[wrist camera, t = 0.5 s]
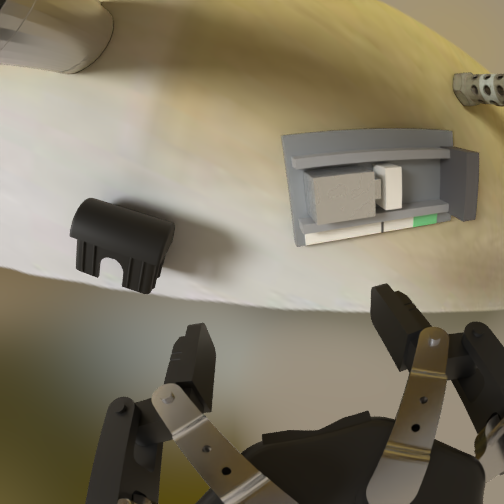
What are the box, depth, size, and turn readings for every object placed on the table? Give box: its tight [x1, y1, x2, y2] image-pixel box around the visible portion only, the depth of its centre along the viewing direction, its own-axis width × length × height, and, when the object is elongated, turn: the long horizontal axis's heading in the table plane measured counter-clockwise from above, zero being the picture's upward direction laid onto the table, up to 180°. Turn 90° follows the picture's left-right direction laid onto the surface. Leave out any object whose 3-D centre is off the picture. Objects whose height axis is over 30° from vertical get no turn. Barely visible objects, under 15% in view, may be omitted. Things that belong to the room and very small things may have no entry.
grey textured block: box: [303, 165, 381, 225], centre depth 26 cm, size 4×8×4 cm, turn 99°
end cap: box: [70, 198, 175, 294], centre depth 27 cm, size 10×7×7 cm
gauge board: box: [281, 128, 479, 247], centre depth 26 cm, size 12×22×6 cm, turn 99°
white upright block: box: [373, 163, 402, 210], centre depth 26 cm, size 4×2×3 cm, turn 9°
